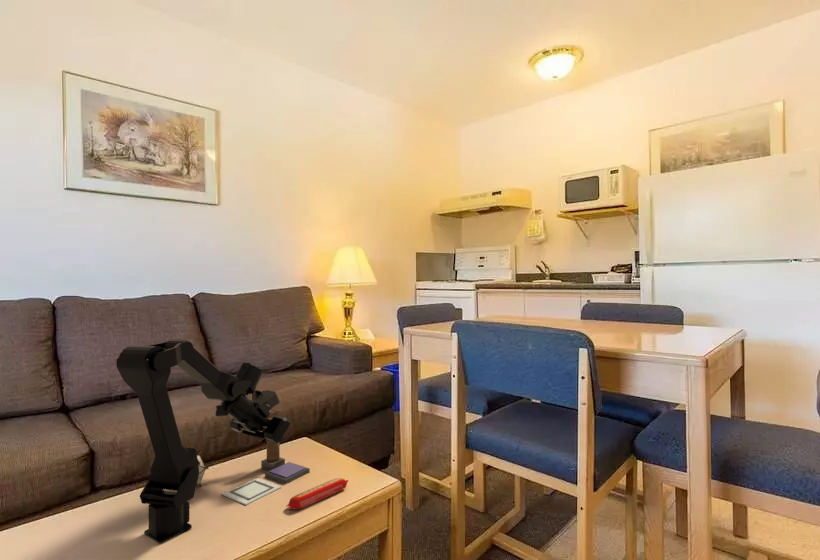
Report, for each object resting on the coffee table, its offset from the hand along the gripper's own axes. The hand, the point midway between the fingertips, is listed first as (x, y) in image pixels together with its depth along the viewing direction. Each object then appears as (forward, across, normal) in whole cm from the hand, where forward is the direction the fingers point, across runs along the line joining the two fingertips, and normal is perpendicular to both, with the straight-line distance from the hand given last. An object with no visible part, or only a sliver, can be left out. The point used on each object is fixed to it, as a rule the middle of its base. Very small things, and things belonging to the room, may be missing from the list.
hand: (277, 439), depth 119 cm
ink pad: (+3, -7, +7) cm, 10 cm away
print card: (-4, -7, +14) cm, 17 cm away
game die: (-9, +8, +20) cm, 23 cm away
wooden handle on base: (+4, 0, +6) cm, 7 cm away
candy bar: (0, -23, +10) cm, 25 cm away
